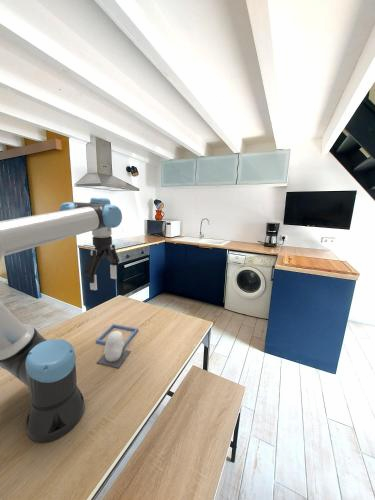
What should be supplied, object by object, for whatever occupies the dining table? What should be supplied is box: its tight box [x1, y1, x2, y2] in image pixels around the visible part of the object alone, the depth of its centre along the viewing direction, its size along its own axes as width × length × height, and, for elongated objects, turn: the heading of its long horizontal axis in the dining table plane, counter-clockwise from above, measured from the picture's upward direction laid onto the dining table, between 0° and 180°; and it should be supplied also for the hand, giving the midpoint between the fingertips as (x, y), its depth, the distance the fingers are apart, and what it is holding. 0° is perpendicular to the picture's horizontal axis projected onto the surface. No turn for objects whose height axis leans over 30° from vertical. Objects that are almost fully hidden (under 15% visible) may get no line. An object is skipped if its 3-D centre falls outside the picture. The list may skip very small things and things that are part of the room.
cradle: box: [95, 323, 139, 350], centre depth 103 cm, size 14×14×2 cm
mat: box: [96, 349, 131, 369], centre depth 90 cm, size 10×10×1 cm
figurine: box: [104, 330, 125, 362], centre depth 88 cm, size 7×8×12 cm
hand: (104, 283), depth 91 cm, fingers open, 13 cm apart
